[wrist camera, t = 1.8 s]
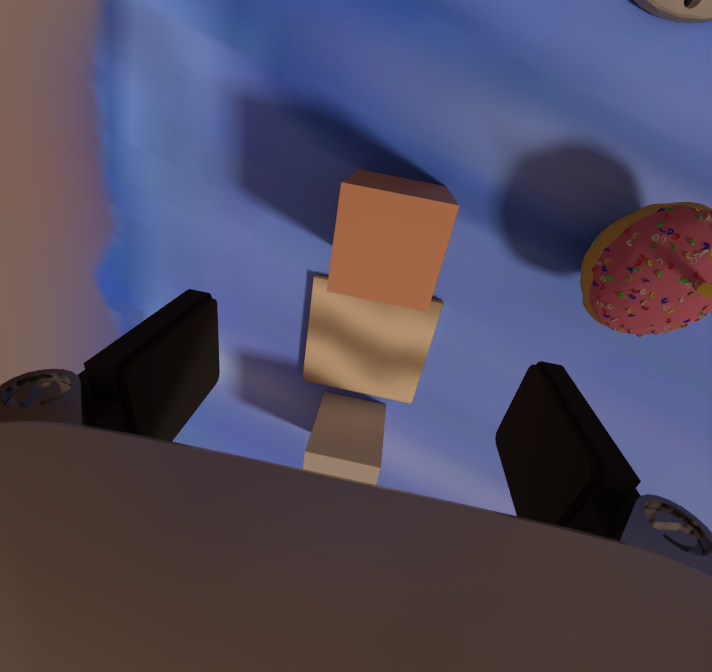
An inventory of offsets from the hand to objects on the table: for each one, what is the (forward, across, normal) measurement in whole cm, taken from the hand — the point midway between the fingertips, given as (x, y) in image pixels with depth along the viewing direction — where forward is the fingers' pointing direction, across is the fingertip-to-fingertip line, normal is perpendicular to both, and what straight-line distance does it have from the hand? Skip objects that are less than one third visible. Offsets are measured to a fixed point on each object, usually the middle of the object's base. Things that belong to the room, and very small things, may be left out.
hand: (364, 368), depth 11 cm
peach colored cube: (+20, 0, 0) cm, 20 cm away
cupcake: (+20, -17, -1) cm, 26 cm away
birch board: (+20, 0, +11) cm, 22 cm away
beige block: (+20, 0, +21) cm, 29 cm away
